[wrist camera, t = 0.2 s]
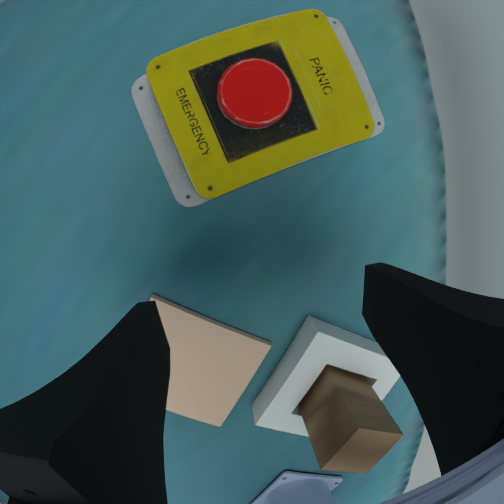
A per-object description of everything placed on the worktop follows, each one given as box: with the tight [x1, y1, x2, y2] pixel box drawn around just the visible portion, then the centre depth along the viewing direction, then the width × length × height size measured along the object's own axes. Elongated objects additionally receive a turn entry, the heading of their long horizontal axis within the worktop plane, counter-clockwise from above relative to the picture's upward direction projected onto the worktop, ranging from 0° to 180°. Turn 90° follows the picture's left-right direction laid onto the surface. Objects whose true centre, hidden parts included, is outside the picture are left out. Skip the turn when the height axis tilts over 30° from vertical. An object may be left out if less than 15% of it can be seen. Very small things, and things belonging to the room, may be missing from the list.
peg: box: [298, 364, 403, 473], centre depth 20 cm, size 4×4×8 cm
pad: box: [150, 294, 271, 427], centre depth 22 cm, size 9×9×1 cm
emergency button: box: [132, 9, 385, 207], centre depth 17 cm, size 9×4×15 cm
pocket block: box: [252, 315, 400, 437], centre depth 23 cm, size 9×9×2 cm
